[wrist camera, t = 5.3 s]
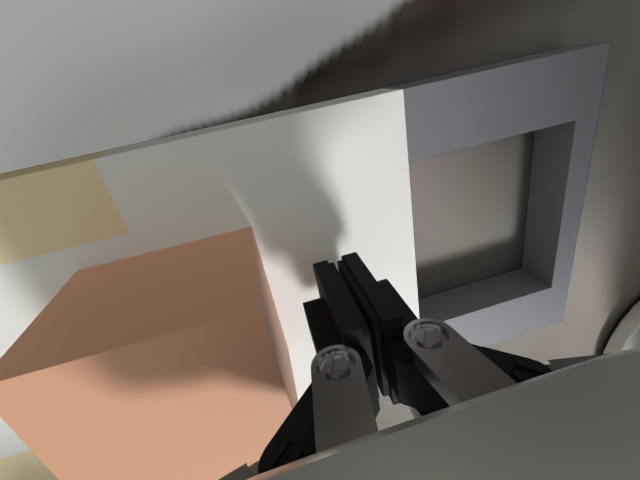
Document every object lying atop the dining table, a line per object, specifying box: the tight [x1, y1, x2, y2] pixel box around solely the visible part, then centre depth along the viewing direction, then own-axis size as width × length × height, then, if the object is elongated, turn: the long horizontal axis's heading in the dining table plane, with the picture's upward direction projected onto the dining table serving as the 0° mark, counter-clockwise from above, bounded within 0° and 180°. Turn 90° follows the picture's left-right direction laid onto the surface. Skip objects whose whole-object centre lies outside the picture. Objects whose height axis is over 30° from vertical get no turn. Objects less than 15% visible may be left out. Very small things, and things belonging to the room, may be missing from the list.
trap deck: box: [0, 42, 611, 480], centre depth 14 cm, size 36×13×2 cm, turn 101°
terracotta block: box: [0, 226, 298, 480], centre depth 11 cm, size 6×6×5 cm
